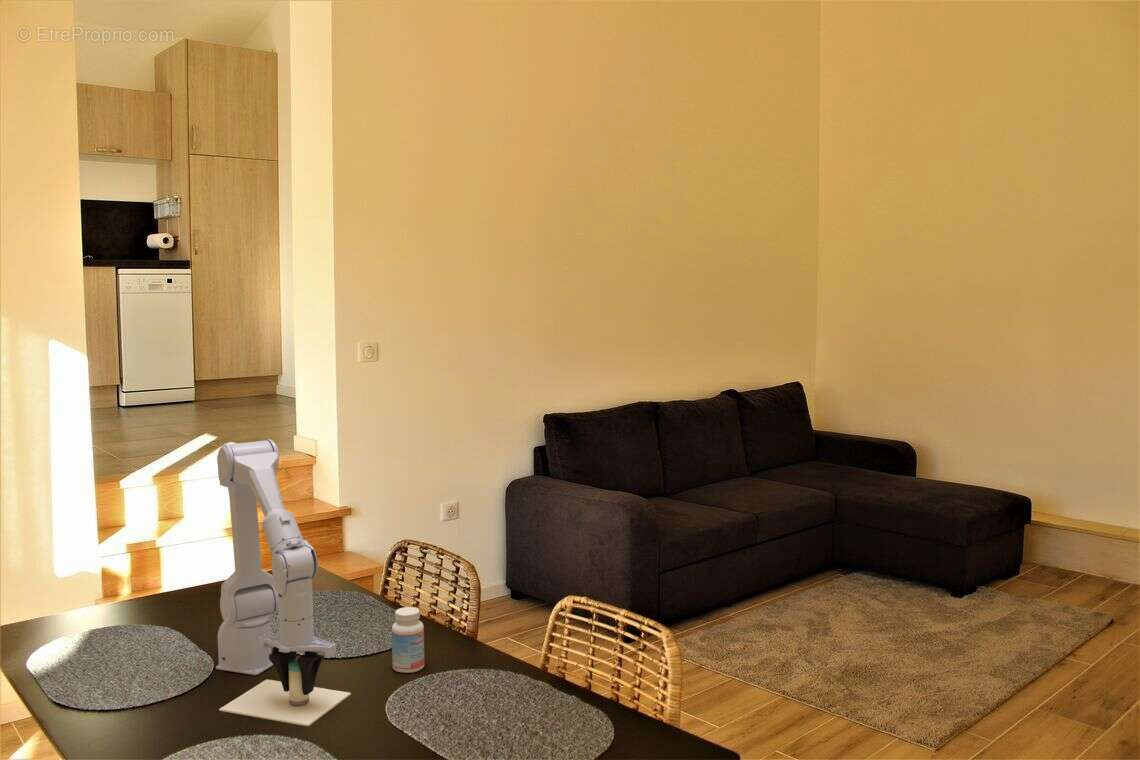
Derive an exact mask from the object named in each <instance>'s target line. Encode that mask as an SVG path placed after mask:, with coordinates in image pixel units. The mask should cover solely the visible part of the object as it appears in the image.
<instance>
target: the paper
mask: <svg viewBox="0 0 1140 760" xmlns="http://www.w3.org/2000/svg"><path fill="white" fill-rule="evenodd" d="M351 695H352V693H351V692H349V691H341V690H334V689H329V688H324V687H317V686H314V689H313V691H312V692H311V693H309V703H307V704H305V705H302V706H292V705H290V704H289V691H288V692H285V691H284V689H283V686H282V683H281V680H280V681H279V680H273V679H265V680H263V681H261V682H259V684H257V685H255V686H254V687H252V688H250V689H249V690H246V692H244V693H243V694H241V695H239V696H238V697H236V698H235V699H233V700H232V701H230V702H228V703H227V704H225V705H224V706H221V707H220V708H219V709H218V710H219V712H223V713H231V714H237V715H242V716H249V717H253V718H258V719H264V720H268V721H269V720H270V721H274V722H275V721H276V722H281V723H287V724H293V725H298V726H304V727H310V726H311V725H312V724H314V723H315V722H316V721H317V720H319V719H320V718H322V717H323V716H324V715H326V714H327V713H328V712H329V711H331V710H332V709H334V708H335V707H336V706H337V705H339V704H340V703H342V702H343V701H344V700H345V699H347V698H348V697H350V696H351Z"/></svg>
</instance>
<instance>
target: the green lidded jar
mask: <svg viewBox="0 0 1140 760" xmlns="http://www.w3.org/2000/svg"><path fill="white" fill-rule="evenodd" d="M297 659H298V658H295V659H293V660H291V661H289V662H288V669H289V704H290V705H292V706H302V705H305V704H307V703H309V694H308V695H303V691H302V677H301V672H300V668H299V665H298V663H297Z"/></svg>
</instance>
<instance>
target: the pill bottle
mask: <svg viewBox="0 0 1140 760" xmlns="http://www.w3.org/2000/svg"><path fill="white" fill-rule="evenodd" d="M420 617H421V613H420V609H419V608H417V607H413V606H405V607H401V608H397V609H396V610H395V613H394V618H395V622H394V623H393V624H392V625H391V655H392V656H391V659H392V664H391V665H392V669H393V670H394V671H395V672H396V673H403V674H404V673H407V674H408V673H409V674H411V673H416V672H419V671H421V670H422V669H423V668H424V667H425V628H424V623H423V622H422V621H421V620H419V619H420Z"/></svg>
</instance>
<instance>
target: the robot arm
mask: <svg viewBox="0 0 1140 760" xmlns="http://www.w3.org/2000/svg"><path fill="white" fill-rule="evenodd" d="M216 455H217V457H216V461H217V472H218V481H219V485H220V486H222V487H225V488H227V491H228V495H229V497H228V498H229V508H230V520H231V521H230V523H231V535H232V546H233V561H234V571H233V573H232V574H231V575H229V576H228V577H227V578H226V580H224V582H222V583H221V588H220V598H219V608H220V613H221V618H222V619H223V621H222V623H221V625H219V628H218V631H217V650H218V651H217V653H218V655H217V656H218V665H216V666H215V669H216V670H220V671H227V672H234V673H239V674H244V675H251V676H257V675H259V674H261V673H263V672H264V671H266V670H267V669H270V668H271V667H274V668H275V670H276V672H277V674H278V677H279V679H280V682H281V683H282V686H283V689H284V691H285V692H288V691H289V669H288V662H289V661H291V660H293V659H297V663H298V665H299V668H300V672H301V677H302V691H303V695H308V694H309V693H311V692H312V691H313V689H314V687H315V683H316V679H317V675H318V671H319V668H320V667H321V665H322V662H323V660H324V658H327V659H330V658H332V657H334V656H335V655H336V654H337V643H336V642H330V641H327V640H325V639H322V638H320V637H317V636H314V634H315V633H314V632H315V631H314V603H313V602H314V599H313V597H314V596H313V578H315V577H316V576H317V574H318V570H319V565H318V564H319V563H318V557H317V554H316V551H315V548H314V547H313V546H312V545H311V544H310V543H309V542H308V540H307V539H304V538H303V536H302V533H301V530H300V528H299V525H298V523H297V520H296V518H295V514H294V513H293V512H292V511H290V510H286V509H285V506H284V501H283V498H282V496H281V495H282V494H281V490H280V488H279V484H278V481H277V477H276V476H277V474H278V472H279V471H278V470H279V465H280V453H279V448H278V445H277V443H275V442H274V440H273V439H270V438H269V439H268V438H267V439H266V440H258V441H249V442H241V443H230V444H228V443H224V444H222V445H221V447H220V448H219V450H218V453H217V454H216ZM258 505H259V508H260V510H261V511H262V513H263V516H264V519H263V521H262V523H261V527H262V532H263V534H264V537H265V539H266V542H267V545H268V547H269V550H270V553H271V555H272V557H271V564H270V567H271V573H269V572H267V571H266V570H264V569H263V567H262V565H263V564H262V556H261V555H262V554H261V553H262V551H261V541H260V539H261V538H260V529H259V516H258V515H259V514H258ZM277 613H278V627H279V631H278V632H279V633H271V632H272V629H271V628H272V627H271V621H273V620H274V615H276V614H277ZM272 649H273V650H272ZM298 652H299V653H303V654H302V655H301V656H299V657H298V658H297V653H298Z"/></svg>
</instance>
